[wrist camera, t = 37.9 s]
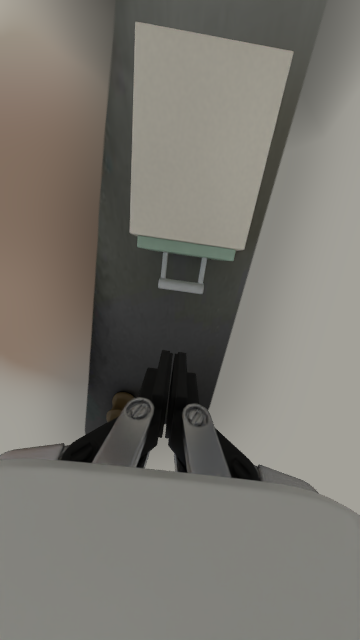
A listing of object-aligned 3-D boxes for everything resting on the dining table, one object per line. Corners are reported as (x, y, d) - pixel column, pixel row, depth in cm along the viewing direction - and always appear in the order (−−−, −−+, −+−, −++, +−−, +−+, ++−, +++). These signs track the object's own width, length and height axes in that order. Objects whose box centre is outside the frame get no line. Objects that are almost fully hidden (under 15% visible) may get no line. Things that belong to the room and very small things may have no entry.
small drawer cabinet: (223, 252, 26) (244, 250, 18) (147, 241, 26) (129, 233, 17) (247, 137, 22) (294, 50, 13) (155, 121, 21) (135, 20, 12)
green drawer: (213, 289, 28) (223, 301, 20) (148, 280, 27) (135, 289, 20) (241, 154, 22) (270, 101, 14) (157, 140, 21) (144, 79, 14)
